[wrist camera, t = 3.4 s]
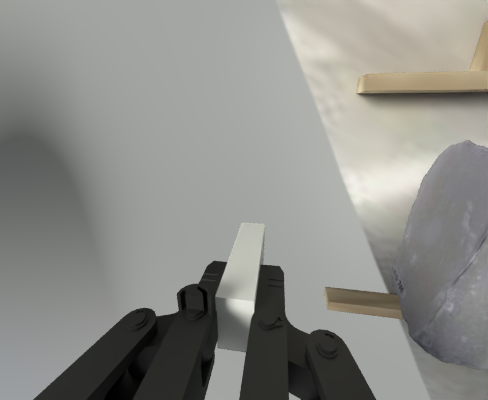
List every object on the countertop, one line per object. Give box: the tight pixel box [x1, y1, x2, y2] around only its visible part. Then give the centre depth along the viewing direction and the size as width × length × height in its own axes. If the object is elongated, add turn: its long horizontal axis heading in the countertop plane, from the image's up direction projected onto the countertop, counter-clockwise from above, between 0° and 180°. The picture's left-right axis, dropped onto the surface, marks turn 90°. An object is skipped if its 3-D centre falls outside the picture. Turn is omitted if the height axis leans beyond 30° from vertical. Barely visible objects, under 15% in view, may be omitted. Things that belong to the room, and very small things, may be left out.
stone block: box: [392, 140, 488, 370], centre depth 15 cm, size 12×5×10 cm, turn 169°
